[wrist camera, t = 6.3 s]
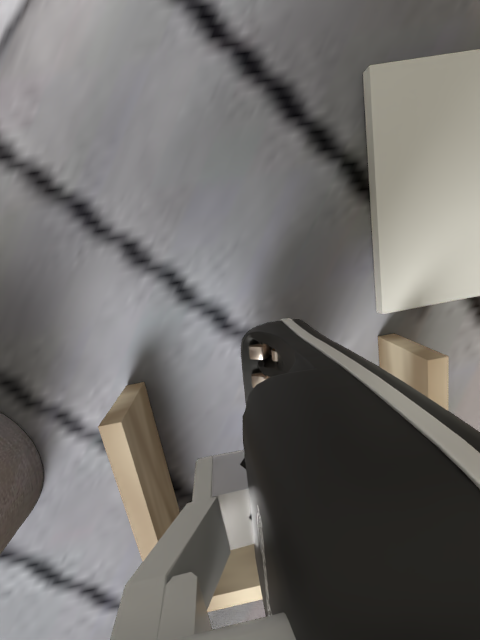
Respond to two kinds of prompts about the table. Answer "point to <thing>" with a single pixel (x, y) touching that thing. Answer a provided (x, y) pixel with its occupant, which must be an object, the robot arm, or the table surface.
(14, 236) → the table surface
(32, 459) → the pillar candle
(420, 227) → the mat
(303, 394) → the battery charger
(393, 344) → the bay
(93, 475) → the table surface
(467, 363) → the table surface
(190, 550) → the robot arm
